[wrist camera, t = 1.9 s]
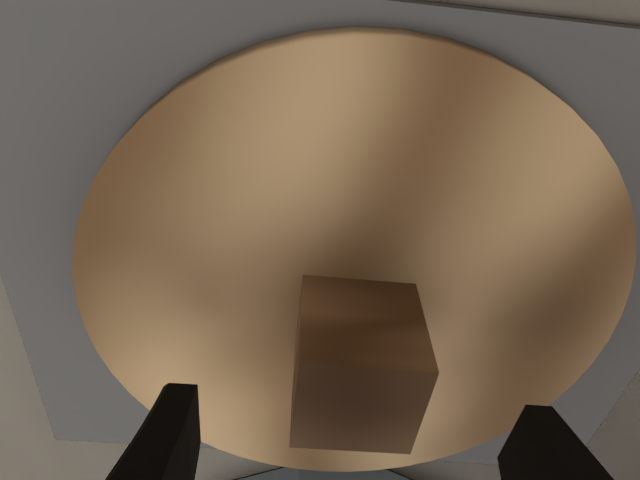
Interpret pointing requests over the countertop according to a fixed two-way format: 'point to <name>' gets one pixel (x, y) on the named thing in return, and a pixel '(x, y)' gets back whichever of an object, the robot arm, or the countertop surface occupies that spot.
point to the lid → (355, 249)
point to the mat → (184, 60)
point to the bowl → (324, 475)
